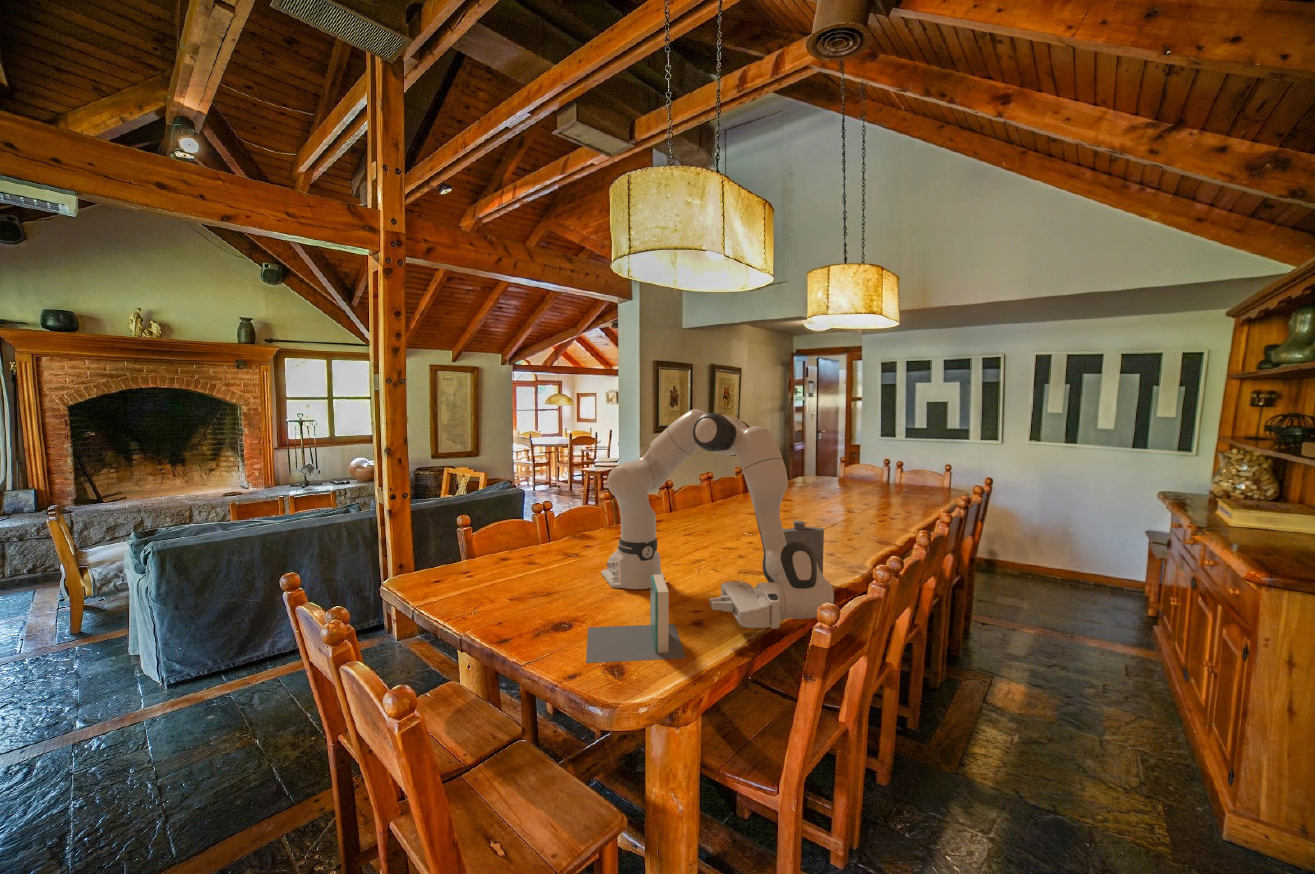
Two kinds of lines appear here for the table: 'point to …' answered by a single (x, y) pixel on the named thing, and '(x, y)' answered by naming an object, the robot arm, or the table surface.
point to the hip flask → (807, 539)
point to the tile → (659, 613)
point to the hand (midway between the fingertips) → (710, 604)
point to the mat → (629, 644)
